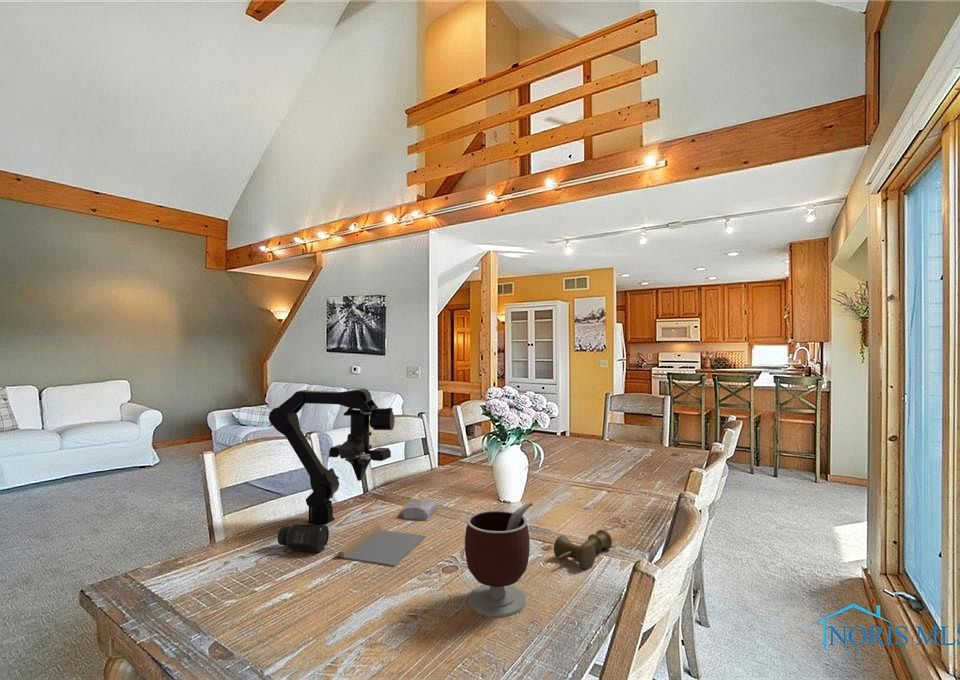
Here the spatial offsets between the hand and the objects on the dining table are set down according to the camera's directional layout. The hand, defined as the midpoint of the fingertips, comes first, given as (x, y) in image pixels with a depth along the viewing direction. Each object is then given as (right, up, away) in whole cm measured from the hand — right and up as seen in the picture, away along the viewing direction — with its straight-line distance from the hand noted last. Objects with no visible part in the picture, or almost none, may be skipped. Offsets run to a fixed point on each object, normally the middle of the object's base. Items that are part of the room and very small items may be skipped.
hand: (359, 480), depth 147 cm
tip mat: (+11, -13, -18) cm, 25 cm away
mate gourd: (+42, -13, -45) cm, 62 cm away
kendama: (+64, -13, -24) cm, 69 cm away
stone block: (+17, -14, +8) cm, 24 cm away
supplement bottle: (-4, -9, -20) cm, 23 cm away
